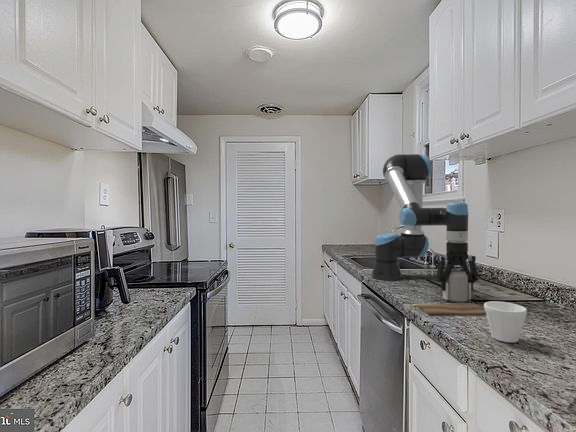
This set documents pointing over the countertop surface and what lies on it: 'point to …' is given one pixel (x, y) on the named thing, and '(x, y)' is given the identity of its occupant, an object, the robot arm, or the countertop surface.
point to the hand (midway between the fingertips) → (456, 298)
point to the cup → (505, 320)
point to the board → (452, 309)
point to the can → (458, 286)
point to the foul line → (462, 303)
